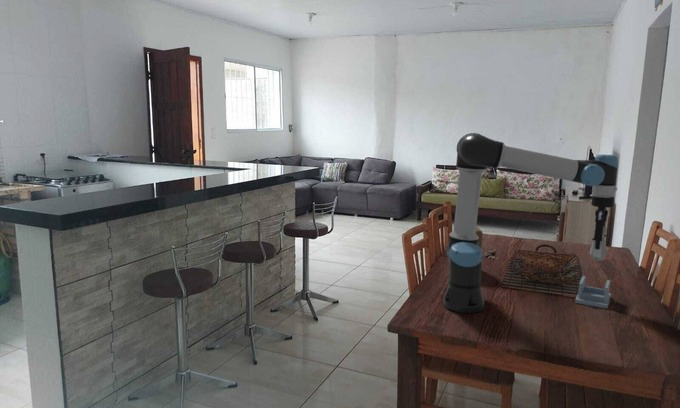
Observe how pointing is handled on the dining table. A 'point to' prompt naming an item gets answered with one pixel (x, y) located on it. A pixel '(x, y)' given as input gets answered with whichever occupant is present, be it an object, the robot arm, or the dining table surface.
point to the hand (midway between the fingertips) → (597, 254)
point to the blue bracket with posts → (593, 295)
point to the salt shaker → (603, 251)
